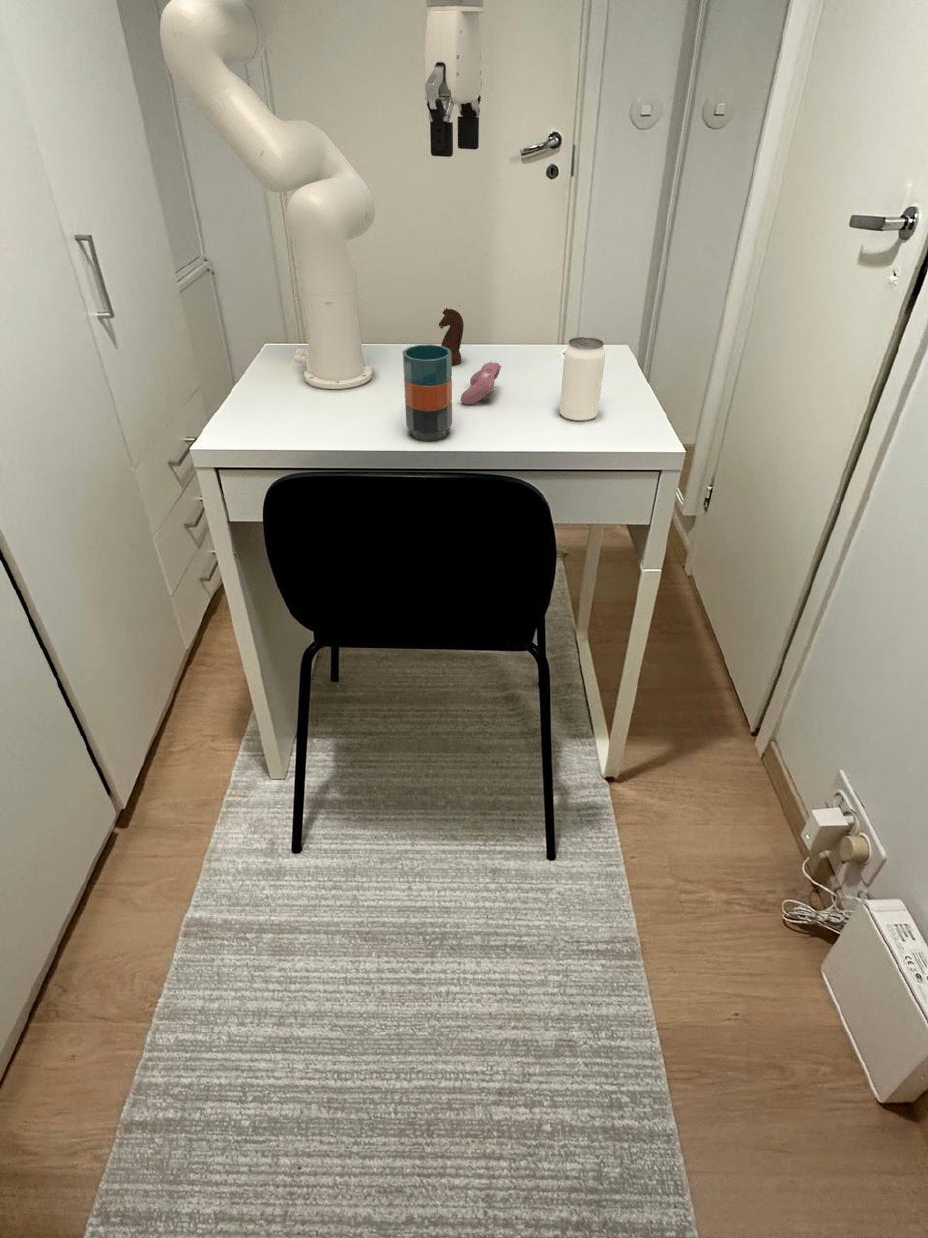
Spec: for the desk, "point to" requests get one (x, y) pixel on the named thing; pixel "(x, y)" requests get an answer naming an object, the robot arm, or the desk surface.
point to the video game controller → (481, 383)
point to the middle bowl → (428, 396)
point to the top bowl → (427, 365)
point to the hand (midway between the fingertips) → (455, 152)
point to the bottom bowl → (429, 422)
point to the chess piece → (452, 333)
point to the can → (582, 378)
